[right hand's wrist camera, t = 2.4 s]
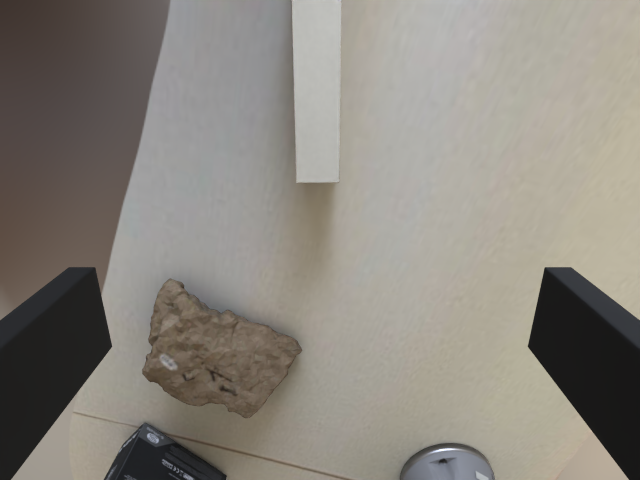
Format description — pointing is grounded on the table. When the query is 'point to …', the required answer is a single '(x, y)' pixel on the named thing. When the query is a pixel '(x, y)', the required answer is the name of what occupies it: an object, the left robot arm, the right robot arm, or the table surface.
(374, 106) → the table surface
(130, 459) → the graphics card box
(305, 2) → the bar
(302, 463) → the table surface
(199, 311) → the stone
